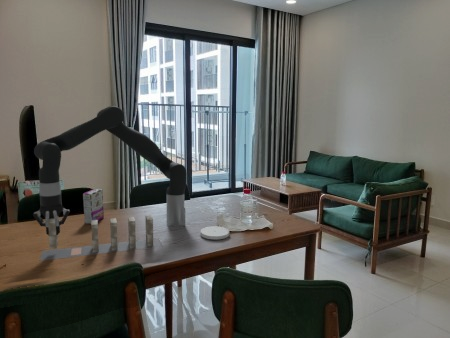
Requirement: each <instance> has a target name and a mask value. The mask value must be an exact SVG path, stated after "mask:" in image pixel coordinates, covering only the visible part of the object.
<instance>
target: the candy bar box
mask: <svg viewBox="0 0 450 338" xmlns="http://www.w3.org/2000/svg"><path fill="white" fill-rule="evenodd" d="M103 197H104V196H103V189H102V188H94V189H91V190H89V191H86V192H84V193H82V202H83V213H84V215H83V217H84V218H83V219H84V224H87V225H91V220H98V222H99V221H101V220H102V219H104V218H105V217H104V216H105V215H104V214H105V213H104V198H103Z"/></svg>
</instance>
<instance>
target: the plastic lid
mask: <svg viewBox="0 0 450 338" xmlns="http://www.w3.org/2000/svg"><path fill="white" fill-rule="evenodd" d="M200 236H201V237H202V238H204V239H208V240H222V239H226V238H228V237H229V236H230V230H229V229H228V228H227V227H223V226H215V225H214V226H213V225H212V226H206V227H203V228H201V229H200Z"/></svg>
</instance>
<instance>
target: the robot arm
mask: <svg viewBox="0 0 450 338" xmlns="http://www.w3.org/2000/svg"><path fill="white" fill-rule="evenodd" d="M124 121H125V113H124V111H123V109H122V108H120V107H118V106H115V105H110V106H106V107H105V108H103V109H101V110H99V111H98V112H97V114H96V117H94V118H92V119H90V120H88V121H86V122H83V123H81V124H79V125H76V126H74V127H72V128H70V129H68V130H66V131H64V132H62V133H60V134H58V135H56V136H53V137H50V138H47V139H45V140H42V141H40V142H38V143H37V144H36V145H35V147H34V149H33V153H34V155H35V157H36V158H37V159H39V160H42V164H41V165H42V167H40V168H39V170H38V177H39V178H38V179H39V180H38V181H39V185H38V186H39V187H38V194H39V202H40V203H39V204H40V207H39V209H38V210H37V211H34V212H33V214H32V216H33V218H34V219H35V220H36V222H37V223H38V224H39V226H41V227H45V231H46V232H45V233H46V235H47V236H48V237H49V228H48V219H49V218H55V221H56V235H58V236H59V234H60V232H61V225H64V223H65V222H66V220H67V218H68V217H69V214H70V212H71V210H70V209H66V208H65V207H64V206H63V202H62V188H61V187H62V186H61V182H60V168H61V161H62V152H65V151H70V150H72V149H74V148H76V147H78V146H79V145H81V144H82V143H84V142H86V141H88V140H89V139H90V138H93V137H94V136H96V135H98V134H99V133H102V132H104V131H107V132H109V134H110V133H111V134H112V135H114V136H115V137H116V138H118V139H120V141H122V142H123V143H124V144H125V145H126V146H127V147H129V148H130V149H132V151H134V152H135V153H136V154H137V155H139V156H140V157H141V158H143V159H144V160H145V161H147V162H149V163H150V164H152V165H153V166H154V167H156V168H157V169H158V170H159V171H160V172H161V173H162V174H163V175H164V176H165V177H166V178H167V179H169V186H168V187H167V188H166V227H181V226H183V227H186V207H185V190H186V188H187V176H188V175H187V174H188V173H187V168H186V167H185V166H184V165H183V164H181V163H179V162H176V161H173V160H171V159H170V158H169V157H167V156H166V155H165V154H164V153H163V152H162V151H161V149H160V147H159V146H158V144H157V143H155V142H154V141H153V140H152V139H151V138H150V137H148V136H147V135H145V134H144V133H143V132H140V131H137V130H135V129H134V128H131V127H129V126H128V125H126V124H125V123H124ZM62 212H63V213H62ZM61 213H62V214H63V217H62V219H61V220H60V215H61ZM41 215H42V216H43V217H44V219H45V221H44V219H43V218H42V217H41Z"/></svg>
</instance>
